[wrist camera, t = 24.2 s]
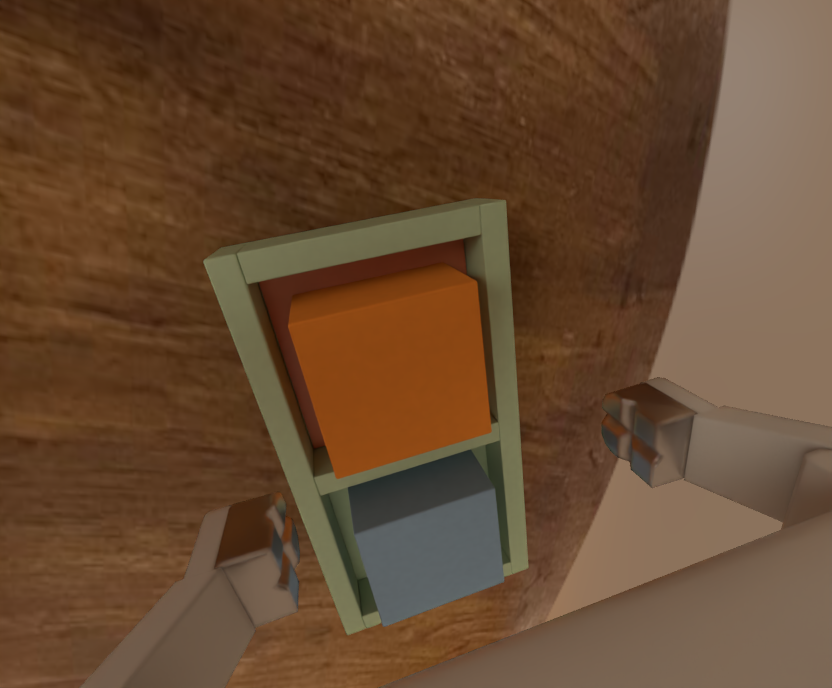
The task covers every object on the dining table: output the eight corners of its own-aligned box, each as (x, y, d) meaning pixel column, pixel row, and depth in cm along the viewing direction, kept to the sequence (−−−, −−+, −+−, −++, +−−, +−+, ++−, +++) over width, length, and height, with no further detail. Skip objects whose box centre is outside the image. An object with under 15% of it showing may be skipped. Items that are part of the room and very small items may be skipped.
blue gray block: (465, 438, 19) (495, 487, 16) (476, 525, 22) (505, 582, 19) (345, 475, 18) (353, 534, 15) (371, 561, 21) (383, 628, 18)
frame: (477, 197, 16) (506, 199, 13) (506, 530, 24) (528, 568, 21) (218, 247, 14) (201, 260, 12) (342, 588, 22) (346, 636, 19)
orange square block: (443, 261, 16) (478, 280, 12) (460, 390, 18) (492, 433, 15) (291, 294, 15) (287, 324, 11) (330, 426, 17) (336, 480, 14)
